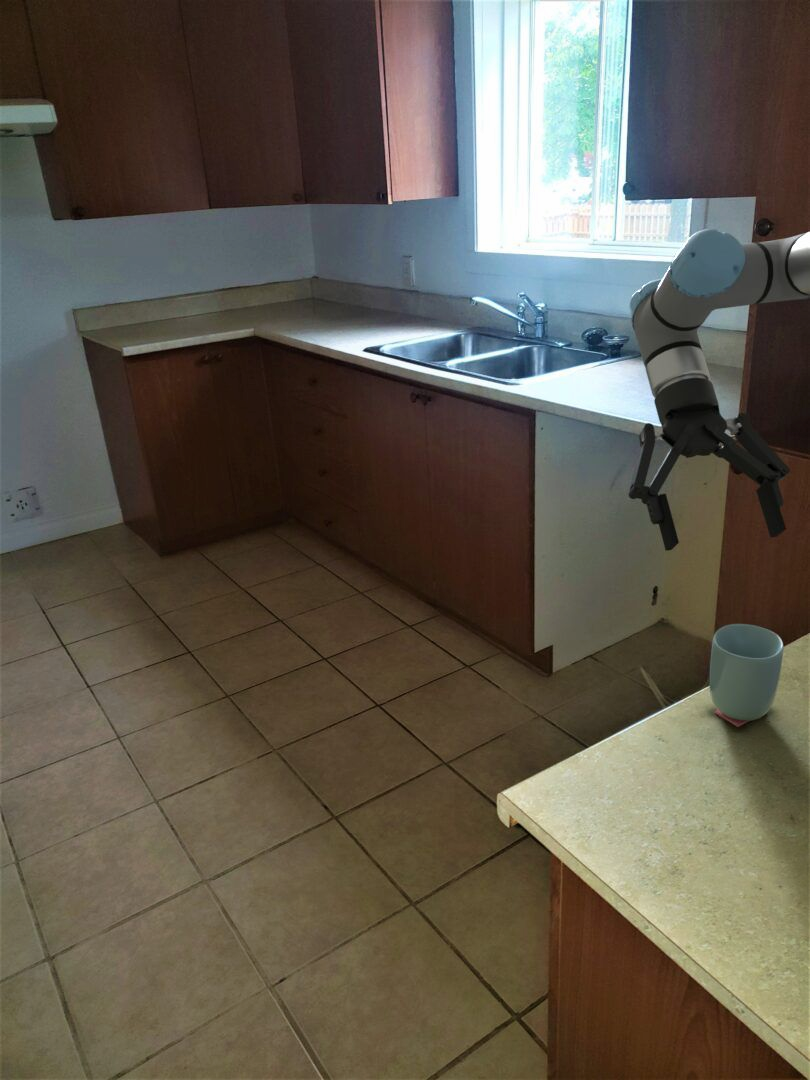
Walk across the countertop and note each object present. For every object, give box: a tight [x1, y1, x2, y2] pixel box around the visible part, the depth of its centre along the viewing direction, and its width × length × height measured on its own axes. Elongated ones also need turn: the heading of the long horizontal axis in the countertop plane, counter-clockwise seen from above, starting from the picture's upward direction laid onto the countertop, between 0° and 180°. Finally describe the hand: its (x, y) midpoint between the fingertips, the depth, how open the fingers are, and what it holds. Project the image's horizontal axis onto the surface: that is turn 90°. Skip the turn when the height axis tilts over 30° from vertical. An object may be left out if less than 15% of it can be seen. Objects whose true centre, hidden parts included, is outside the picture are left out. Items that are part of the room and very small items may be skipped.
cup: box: [708, 623, 785, 722], centre depth 98 cm, size 8×8×10 cm
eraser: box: [714, 709, 749, 728], centre depth 100 cm, size 5×3×1 cm
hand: (725, 540), depth 100 cm, fingers open, 13 cm apart
